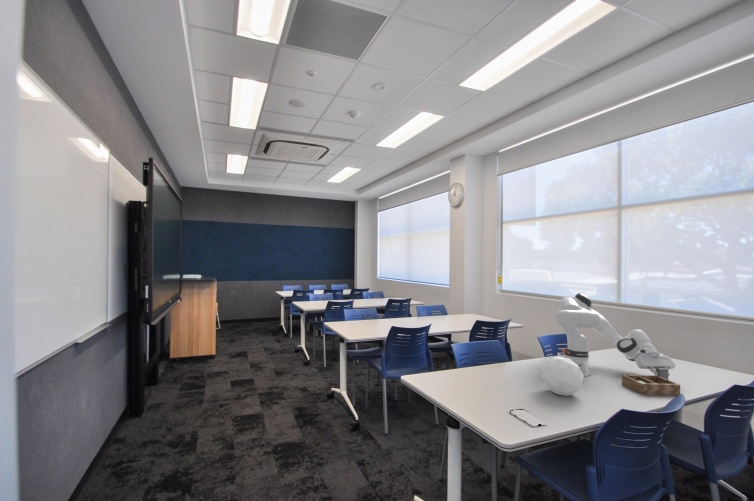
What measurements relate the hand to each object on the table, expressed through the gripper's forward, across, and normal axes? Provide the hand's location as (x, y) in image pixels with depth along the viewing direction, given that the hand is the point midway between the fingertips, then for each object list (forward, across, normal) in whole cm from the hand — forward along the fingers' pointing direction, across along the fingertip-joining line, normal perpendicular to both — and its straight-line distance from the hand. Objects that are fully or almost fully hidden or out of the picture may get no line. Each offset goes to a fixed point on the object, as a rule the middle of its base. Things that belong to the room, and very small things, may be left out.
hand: (662, 375), depth 200 cm
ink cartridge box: (-2, +57, -10) cm, 58 cm away
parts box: (+11, +15, +3) cm, 19 cm away
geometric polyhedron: (+16, +67, +8) cm, 69 cm away
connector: (+3, 0, -4) cm, 5 cm away
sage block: (+10, +21, +4) cm, 23 cm away
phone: (+38, +98, +29) cm, 109 cm away
